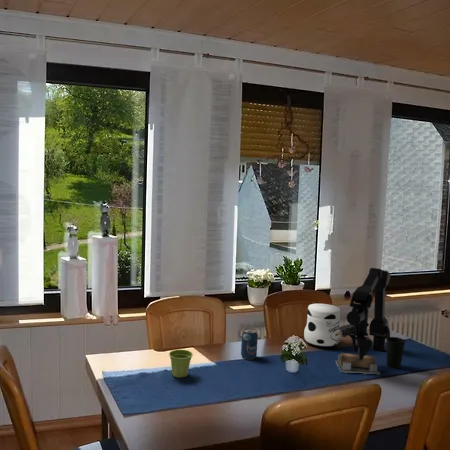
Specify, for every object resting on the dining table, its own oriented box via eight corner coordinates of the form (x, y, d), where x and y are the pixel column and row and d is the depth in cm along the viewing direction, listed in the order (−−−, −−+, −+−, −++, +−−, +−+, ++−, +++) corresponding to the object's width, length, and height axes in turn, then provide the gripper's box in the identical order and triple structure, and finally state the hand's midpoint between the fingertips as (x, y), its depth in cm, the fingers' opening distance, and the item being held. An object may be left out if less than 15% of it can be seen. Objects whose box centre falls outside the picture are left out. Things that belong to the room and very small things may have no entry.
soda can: (248, 361, 220) (249, 334, 219) (237, 356, 225) (238, 329, 224) (259, 358, 224) (261, 331, 223) (248, 353, 230) (250, 327, 228)
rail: (340, 364, 217) (341, 355, 217) (340, 361, 220) (340, 352, 220) (374, 368, 215) (375, 359, 214) (373, 365, 218) (374, 356, 218)
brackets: (335, 362, 224) (336, 353, 223) (371, 364, 223) (372, 355, 223) (341, 373, 212) (342, 363, 211) (379, 375, 212) (380, 365, 211)
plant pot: (195, 372, 205) (196, 351, 204) (186, 381, 196) (187, 359, 195) (174, 368, 208) (175, 348, 207) (164, 377, 199) (164, 355, 198)
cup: (403, 370, 218) (406, 343, 216) (385, 368, 219) (387, 341, 218) (401, 364, 225) (403, 337, 224) (383, 362, 227) (385, 336, 225)
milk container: (343, 351, 239) (346, 313, 237) (306, 349, 239) (308, 311, 237) (335, 338, 256) (338, 303, 254) (301, 337, 256) (303, 302, 254)
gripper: (337, 312, 224) (334, 346, 226) (346, 325, 206) (343, 362, 208) (362, 313, 224) (359, 348, 226) (374, 326, 206) (371, 364, 208)
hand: (357, 355), depth 217 cm, fingers open, 9 cm apart
